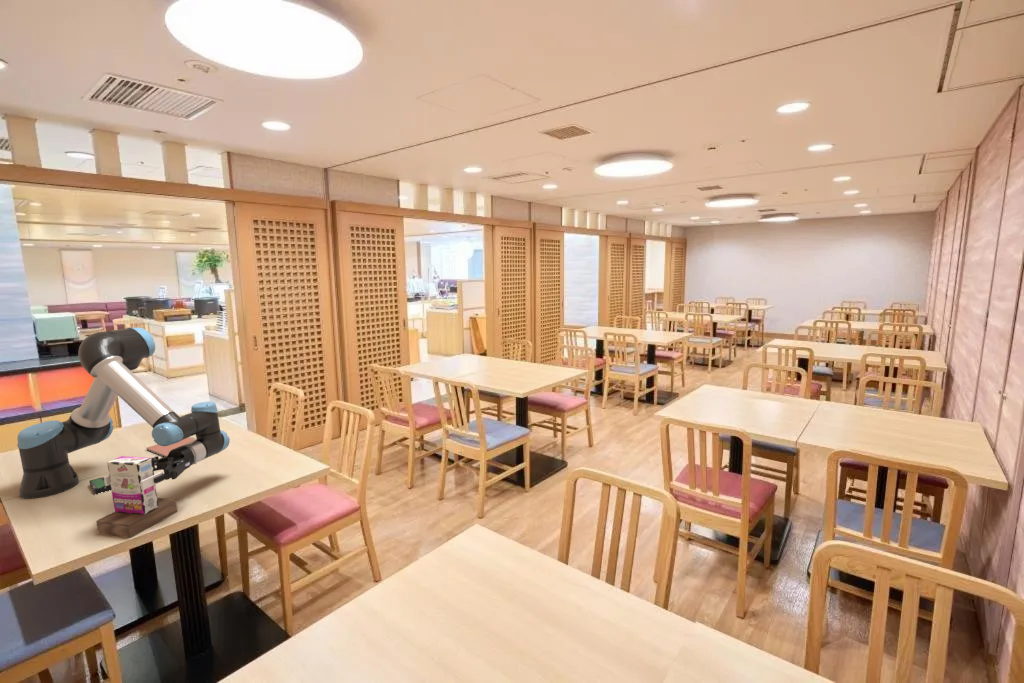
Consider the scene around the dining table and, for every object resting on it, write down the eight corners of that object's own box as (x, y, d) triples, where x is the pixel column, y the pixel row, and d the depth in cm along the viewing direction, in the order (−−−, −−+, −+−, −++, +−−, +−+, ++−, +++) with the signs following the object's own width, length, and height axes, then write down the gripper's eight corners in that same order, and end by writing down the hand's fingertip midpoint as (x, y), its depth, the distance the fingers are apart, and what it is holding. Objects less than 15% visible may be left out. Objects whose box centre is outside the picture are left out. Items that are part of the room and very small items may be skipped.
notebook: (221, 450, 203) (220, 445, 203) (177, 464, 189) (177, 459, 189) (188, 439, 217) (188, 435, 217) (146, 451, 203) (145, 447, 202)
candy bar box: (160, 507, 146) (153, 457, 143) (145, 515, 141) (137, 463, 138) (129, 504, 148) (122, 455, 145) (113, 512, 143) (105, 461, 140)
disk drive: (140, 474, 181) (89, 487, 169) (139, 467, 180) (88, 480, 169) (147, 481, 174) (95, 496, 163) (147, 474, 174) (94, 488, 162)
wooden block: (98, 533, 139) (96, 520, 138) (147, 507, 153) (145, 496, 153) (130, 537, 136) (128, 525, 136) (177, 511, 151) (175, 500, 150)
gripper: (218, 468, 158) (159, 499, 138) (158, 463, 164) (92, 491, 143) (215, 447, 157) (155, 475, 137) (155, 442, 162) (88, 468, 142)
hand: (123, 483), depth 140 cm, fingers open, 13 cm apart
